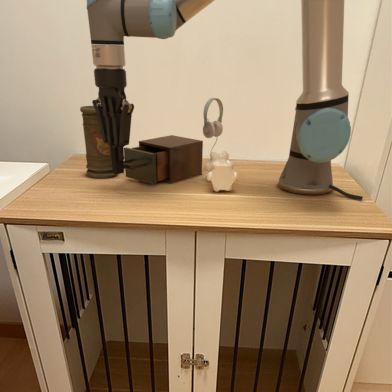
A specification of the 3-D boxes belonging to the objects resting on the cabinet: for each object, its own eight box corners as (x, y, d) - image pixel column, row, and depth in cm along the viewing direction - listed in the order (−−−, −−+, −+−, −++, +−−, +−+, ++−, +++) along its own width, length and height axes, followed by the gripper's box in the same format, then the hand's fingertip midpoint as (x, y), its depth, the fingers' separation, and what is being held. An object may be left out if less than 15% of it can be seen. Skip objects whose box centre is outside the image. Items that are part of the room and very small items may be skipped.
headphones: (214, 165, 138) (217, 96, 126) (223, 167, 136) (227, 97, 124) (198, 169, 133) (200, 98, 121) (207, 172, 131) (210, 99, 119)
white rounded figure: (237, 193, 113) (240, 162, 108) (206, 193, 113) (207, 161, 108) (232, 179, 125) (234, 150, 120) (203, 178, 125) (204, 149, 120)
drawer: (137, 188, 111) (135, 157, 106) (109, 180, 117) (106, 151, 112) (184, 175, 123) (184, 147, 119) (157, 168, 129) (156, 141, 124)
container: (80, 175, 123) (71, 107, 113) (99, 169, 130) (92, 104, 119) (104, 180, 120) (97, 110, 109) (123, 173, 126) (117, 106, 116)
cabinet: (170, 183, 119) (170, 147, 114) (140, 175, 125) (138, 141, 120) (201, 174, 128) (203, 140, 123) (172, 167, 135) (171, 135, 129)
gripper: (79, 66, 97) (92, 171, 112) (116, 69, 91) (124, 180, 105) (103, 66, 102) (112, 166, 116) (140, 68, 96) (145, 174, 110)
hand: (118, 172), depth 111 cm, fingers closed
